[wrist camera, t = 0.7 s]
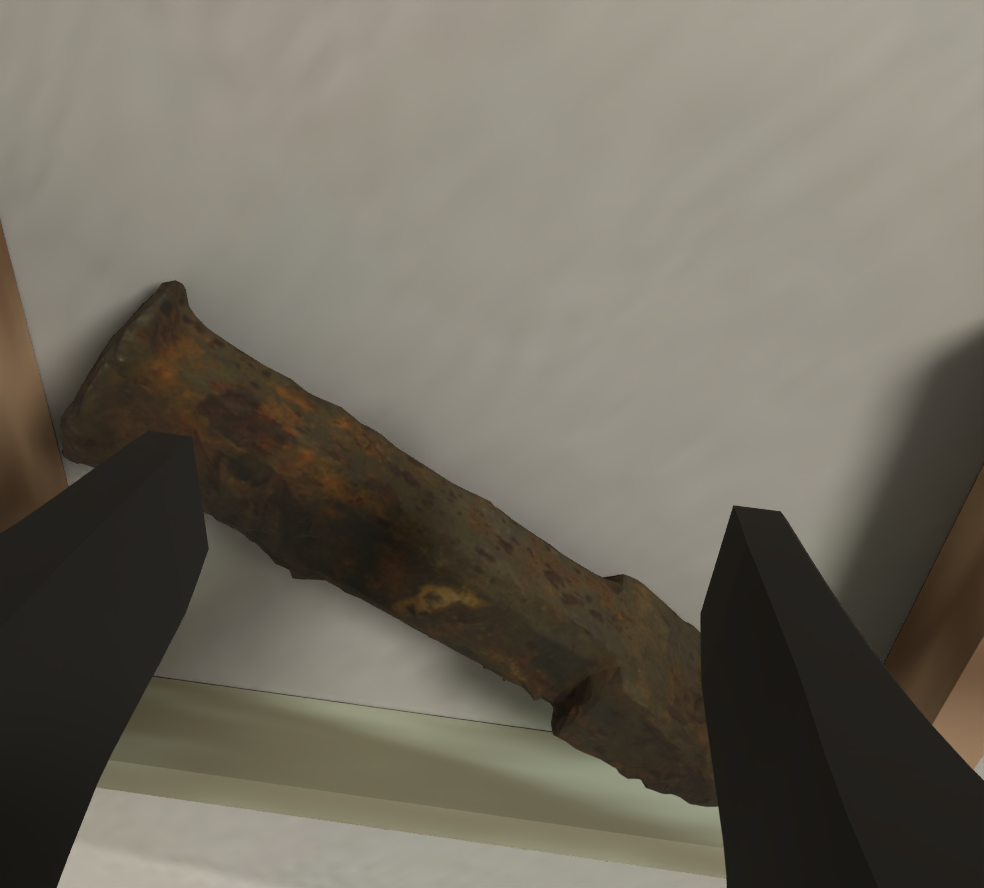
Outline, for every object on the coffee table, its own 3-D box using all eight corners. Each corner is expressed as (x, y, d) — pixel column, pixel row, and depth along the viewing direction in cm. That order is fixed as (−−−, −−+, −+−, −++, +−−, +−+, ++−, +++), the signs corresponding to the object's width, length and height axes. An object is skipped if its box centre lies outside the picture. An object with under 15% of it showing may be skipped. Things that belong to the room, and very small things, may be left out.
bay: (865, 806, 29) (887, 901, 27) (77, 695, 30) (30, 777, 28) (1157, 283, 18) (1237, 366, 16) (-90, 138, 19) (-190, 195, 17)
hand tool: (104, 366, 23) (4, 489, 19) (176, 249, 21) (79, 362, 17) (679, 722, 28) (688, 871, 25) (782, 660, 26) (809, 811, 23)
